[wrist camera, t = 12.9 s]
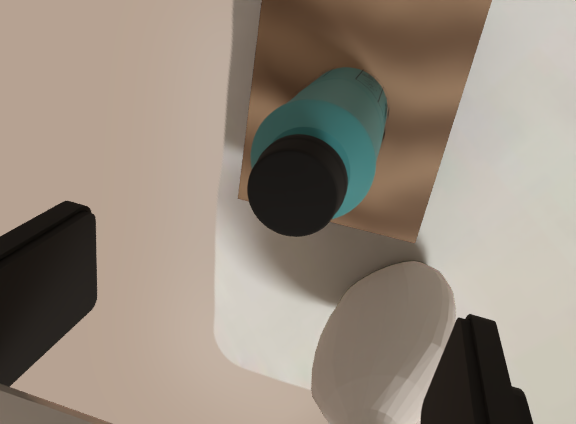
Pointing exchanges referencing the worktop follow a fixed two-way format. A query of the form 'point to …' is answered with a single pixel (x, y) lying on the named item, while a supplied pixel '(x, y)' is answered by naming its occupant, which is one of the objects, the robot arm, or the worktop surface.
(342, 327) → the soap bottle
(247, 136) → the footstool
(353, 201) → the beverage bottle
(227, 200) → the worktop surface
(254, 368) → the worktop surface
